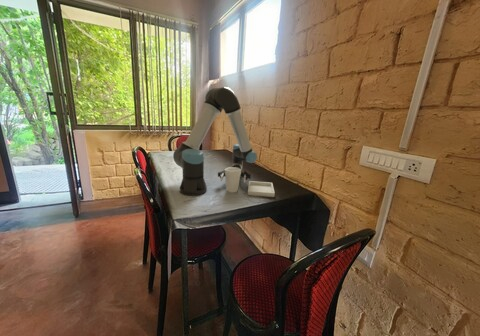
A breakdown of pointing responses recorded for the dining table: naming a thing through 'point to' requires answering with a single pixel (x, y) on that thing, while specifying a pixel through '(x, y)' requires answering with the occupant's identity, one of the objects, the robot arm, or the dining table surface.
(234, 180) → the foam cup
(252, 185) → the tray
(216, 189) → the dining table surface
